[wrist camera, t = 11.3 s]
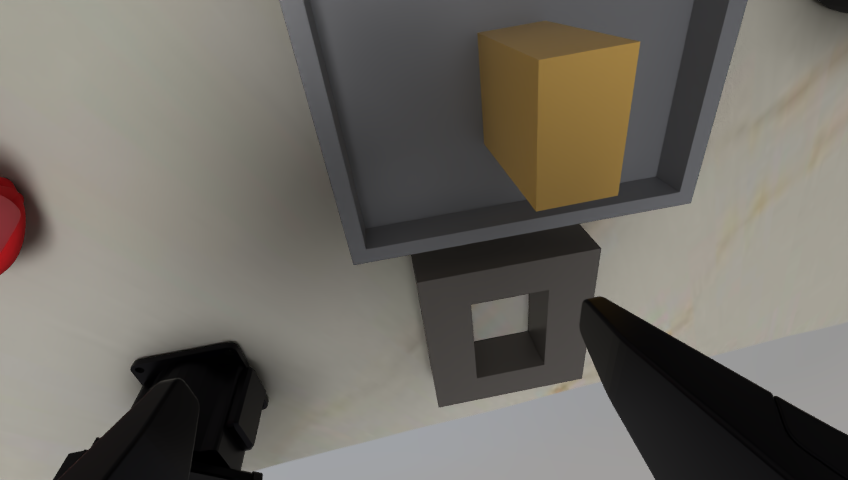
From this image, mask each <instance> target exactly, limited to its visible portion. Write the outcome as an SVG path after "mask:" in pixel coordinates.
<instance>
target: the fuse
mask: <svg viewBox="0 0 848 480" xmlns="http://www.w3.org/2000/svg"><path fill="white" fill-rule="evenodd" d="M477 34H478V51H479V68H480V84H481V101H482V118H483V134H484V144H485V146H486V147H487V148H488V150H489V151H490V152H491V154H492V155H493V156H494V158H495V159H496V160H497V161H498V163H499V164H500V165H501V167H502V168H503V169H504V171H505V172H506V173H507V174H508V176H509V177H510V178H511V180H512V181H513V182H514V184H515V185H516V186H517V187H518V189H519V190H520V191H521V193H522V194H523V195H524V197H525V198H526V199H527V200H528V202H529V203H530V204H531V206H532V207H533V208H534V210H535V211H536V212H537V211H542V210H547V209H552V208H557V207H562V206H567V205H572V204H577V203H583V202H588V201H593V200H598V199H603V198H608V197H613V196H618V192H619V185H620V178H621V171H622V165H623V158H624V151H625V144H626V137H627V130H628V123H629V116H630V110H631V103H632V96H633V89H634V82H635V75H636V68H637V61H638V55H639V48H640V41H636V40H631V39H627V38H622V37H618V36H613V35H608V34H604V33H599V32H595V31H590V30H586V29H581V28H577V27H572V26H568V25H563V24H559V23H554V22H549V21H540V22H535V23H529V24H523V25H518V26H512V27H507V28H501V29H495V30H490V31H484V32H479V33H477Z"/></svg>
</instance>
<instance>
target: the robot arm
mask: <svg viewBox="0 0 848 480" xmlns="http://www.w3.org/2000/svg"><path fill="white" fill-rule="evenodd" d="M579 328H580V333H581V336H582V338H583V340H584V343H585V345H586V347H587V349H588V352H589V354H590V356H591V359H592V361H593V363H594V365H595V368H596V370H597V372H598V375H599V377H600V379H601V382H602V384H603V386H604V388H605V390H606V393H607V395H608V397H609V399H610V400H611V402H612V404H613V406H614V408H615V409H616V411H617V413H618V415H619V416H620V418H621V420H622V422H623V423H624V425H625V427H626V428H627V431H628V432H629V434H630V436H631V438H632V439H633V441H634V443H635V445H636V446H637V448H638V450H639V452H640V453H641V455H642V457H643V458H644V460H645V462H646V464H647V466H648V467H649V469H650V471H651V473H652V474H653V476H654V478H655V480H848V435H847V434H845V433H843V432H841V431H839V430H837V429H835V428H833V427H831V426H830V425H828V424H826V423H824V422H822V421H821V420H819V419H817V418H815V417H814V416H812V415H810V414H808V413H806V412H804V411H803V410H801V409H799V408H797V407H795V406H793V405H792V404H790V403H788V402H787V401H785V400H783V399H781V398H780V397H778V396H774V397H773V395H772V393H771V392H769V391H767V390H765V389H764V388H762V387H760V386H758V385H757V384H755V383H753V382H751V381H750V380H748V379H746V378H744V377H743V376H740V375H739V374H737V373H736V372H734V371H732V370H730V369H729V368H727V367H725V366H723V365H722V364H720V363H718V362H716V361H714V360H713V359H711V358H709V357H708V356H706V355H704V354H702V353H701V352H699V351H697V350H695V349H694V348H692V347H690V346H688V345H687V344H685V343H683V342H681V341H679V340H678V339H676V338H674V337H672V336H671V335H669V334H667V333H665V332H664V331H662V330H660V329H658V328H657V327H655V326H653V325H651V324H650V323H648V322H646V321H644V320H643V319H641V318H639V317H637V316H636V315H634V314H632V313H630V312H629V311H627V310H625V309H623V308H622V307H620V306H618V305H616V304H615V303H613V302H611V301H609V300H608V299H606V298H604V297H594V298H589V299H585V300H584V301H583V302H582V307H581V315H580V323H579ZM229 350H231V351H229ZM130 370H131V372H132V373H133V374H134V376H135V377H136V378H137V379H138V380H139V382H140V383H141V384H142V385H143V387H142V388H141V390H140V392H139V394H138V396H137V398H136V400H135V402H134V404H133V405H132V407H131V409H130V410H129V411H128V412H127V413H126V414H125V415H124V416H123V417H122V418H121V419H120V420H119V421H118V422H117V423H116V424H115V425H114V426H113V427H112V428H111V429H110V430H109V431H107V432H106V433H105V434H104V435H103V436H102V437H101V438H98V437H97V438H96V440H95V441H94V443H93V445H92V446H91V448H90V449H89V450H85V449H84V451H80V452H75V453H70V454H68V456H67V458H66V459H65V461H64V463H63V464H62V466H61V467H60V469H59V471H58V472H57V474H56V476H55V477H54V479H53V480H262V476H263V474H262V473H259V472H254V471H253V472H252V473H251V472H246V471H241V467H242V463H243V458H244V454H245V451H247V450H251V449H252V447H253V446H254V443H255V438H256V434H257V429H258V425H259V420H260V416H261V411H262V410H263V409H266V408H267V406H268V402H269V400H268V398H267V396H266V394H265V393H266V391H265V389H264V387H263V386H262V384H261V382H260V380H259V378H258V377H257V375H256V373H255V371H254V370H253V369H252V368H251V367H250V366H249V364H248V362H247V360H246V359H245V357H244V355H243V353H242V351H241V350H240V348H239V346H238V345H237V344H235V343H224V344H219V345H214V346H208V347H203V348H198V349H193V350H187V351H182V352H177V353H172V354H166V355H161V356H156V357H151V358H145V359H140V360H136V361H135V362H134V363H133V365H132V366H131V369H130Z"/></svg>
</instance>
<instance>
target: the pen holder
mask: <svg viewBox="0 0 848 480" xmlns="http://www.w3.org/2000/svg"><path fill="white" fill-rule="evenodd" d="M819 1H820V2H821V3H822V4H824V5H825V6H827V7H828V8H831V9H834V10H837V11H840V12H844V13H848V0H819Z"/></svg>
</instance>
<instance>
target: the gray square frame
mask: <svg viewBox="0 0 848 480" xmlns="http://www.w3.org/2000/svg"><path fill="white" fill-rule="evenodd" d="M600 253H601V248H600V247H599V245H598V244H597V243H596V242H595V241H594V240H593V239H592V238H591V237H590V235H589V234H588V233H587V232H586V231H585V230H584V229H583V228H582V227H581V226H580V224H575V225H569V226H564V227H558V228H553V229H547V230H542V231H536V232H531V233H526V234H520V235H515V236H509V237H504V238H498V239H493V240H488V241H482V242H477V243H471V244H466V245H460V246H455V247H450V248H444V249H439V250H433V251H428V252H422V253H417V254H411V256H412V261H413V267H414V273H415V278H416V284H417V290H418V295H419V301H420V307H421V312H422V318H423V324H424V329H425V335H426V341H427V346H428V352H429V358H430V363H431V369H432V374H433V380H434V385H435V390H436V395H437V401H438V406H439V407H443V406H448V405H453V404H458V403H463V402H468V401H473V400H478V399H483V398H488V397H493V396H498V395H503V394H508V393H512V392H517V391H522V390H527V389H532V388H537V387H542V386H547V385H552V384H557V383H562V382H567V381H572V380H577V379H582V374H583V367H584V360H585V354H586V345H585V343H584V340H583V338H582V336H581V333H580V328H579V323H580V315H581V307H582V302H583V301H584V300H585V299H589V298H594V293H595V287H596V280H597V273H598V266H599V260H600ZM524 294H529V317H528V331H527V332H522V333H517V334H512V335H507V336H502V337H497V338H492V339H486V340H481V341H476V342H474V336H473V324H472V312H471V305H472V304H477V303H482V302H488V301H493V300H498V299H503V298H509V297H514V296H519V295H524Z"/></svg>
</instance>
